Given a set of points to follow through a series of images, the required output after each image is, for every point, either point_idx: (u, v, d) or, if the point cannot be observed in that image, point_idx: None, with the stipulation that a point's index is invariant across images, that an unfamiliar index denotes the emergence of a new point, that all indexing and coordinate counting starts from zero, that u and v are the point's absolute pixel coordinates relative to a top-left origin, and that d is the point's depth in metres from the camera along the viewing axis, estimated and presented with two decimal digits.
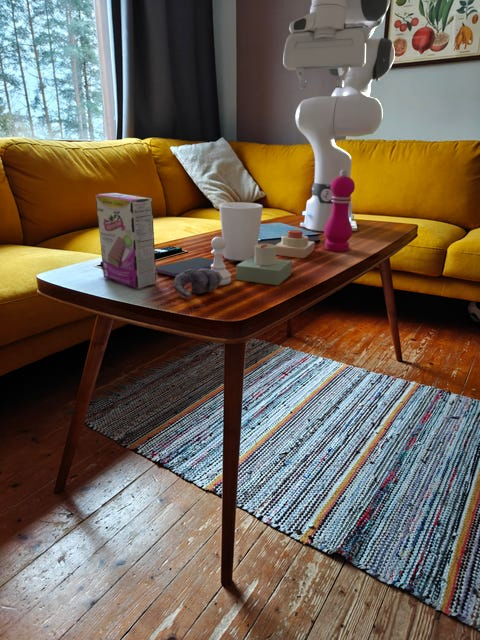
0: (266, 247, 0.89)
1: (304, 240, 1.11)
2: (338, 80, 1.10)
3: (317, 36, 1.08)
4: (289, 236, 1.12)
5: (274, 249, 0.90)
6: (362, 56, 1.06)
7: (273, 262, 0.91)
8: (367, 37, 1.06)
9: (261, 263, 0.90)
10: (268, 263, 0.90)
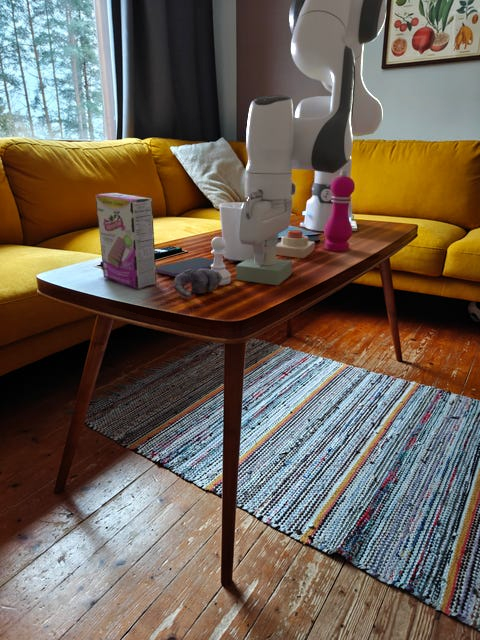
0: (266, 247, 0.89)
1: (304, 240, 1.11)
2: None
3: None
4: (289, 236, 1.12)
5: (274, 249, 0.90)
6: (239, 235, 0.82)
7: (273, 262, 0.91)
8: (246, 212, 0.79)
9: (261, 263, 0.90)
10: (268, 263, 0.90)
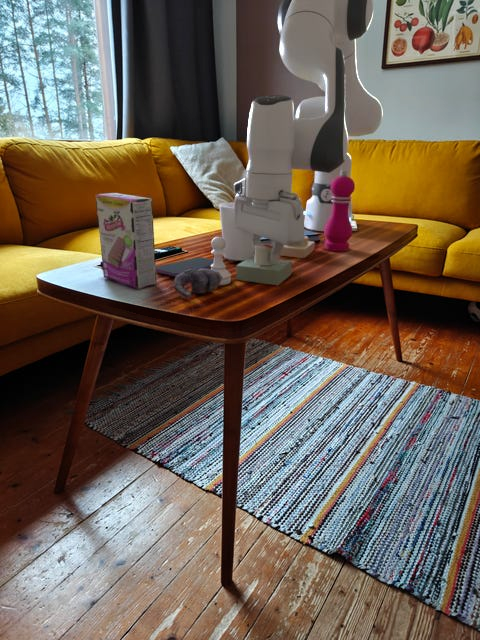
0: None
1: (304, 240, 1.11)
2: (269, 254, 0.89)
3: (251, 204, 0.88)
4: None
5: None
6: (288, 237, 0.81)
7: None
8: (297, 213, 0.80)
9: (271, 263, 0.90)
10: None
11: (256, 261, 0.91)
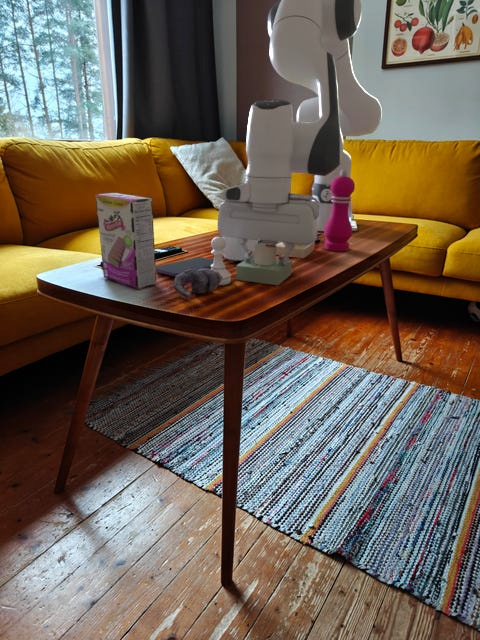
0: None
1: None
2: (281, 258, 0.89)
3: (255, 209, 0.86)
4: None
5: None
6: (311, 237, 0.85)
7: None
8: (317, 213, 0.84)
9: (275, 262, 0.91)
10: None
11: (262, 262, 0.90)
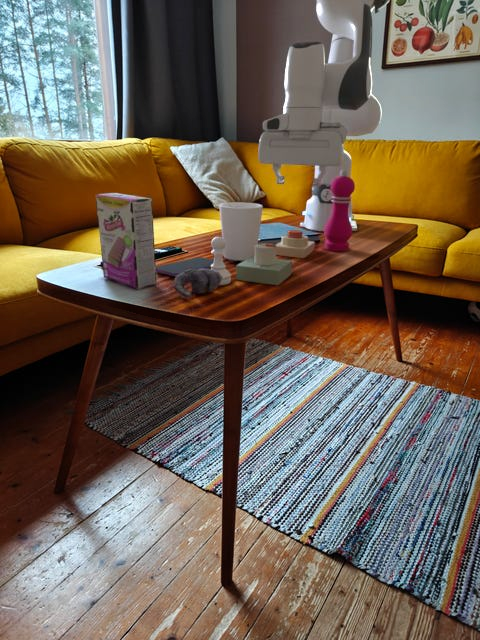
0: None
1: (304, 240, 1.11)
2: (315, 179, 1.06)
3: (292, 137, 1.03)
4: (289, 236, 1.12)
5: None
6: (339, 159, 1.01)
7: None
8: (344, 138, 1.01)
9: (275, 262, 0.91)
10: None
11: (262, 262, 0.90)
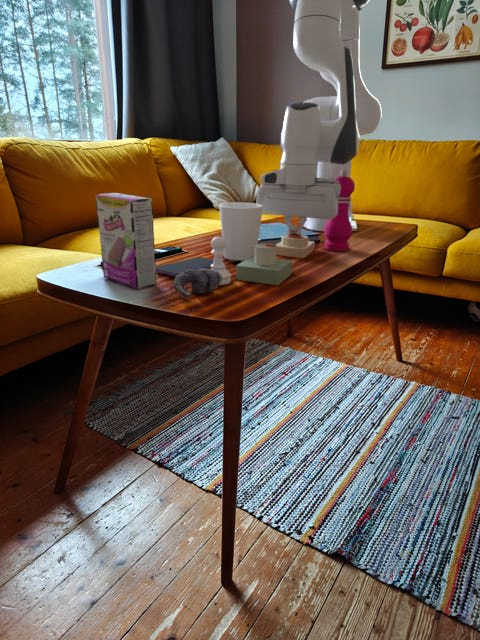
0: None
1: (304, 240, 1.11)
2: (295, 229, 1.11)
3: (288, 190, 1.07)
4: None
5: None
6: (333, 213, 1.06)
7: None
8: (338, 193, 1.05)
9: (275, 262, 0.91)
10: None
11: (262, 262, 0.90)
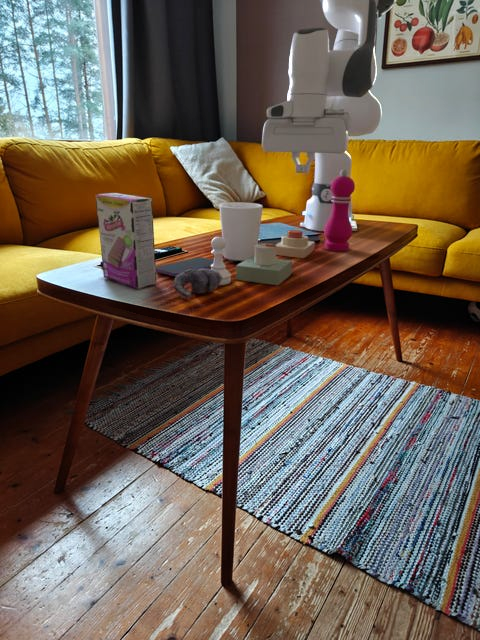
0: None
1: (304, 240, 1.11)
2: (303, 166, 1.07)
3: (296, 124, 1.02)
4: (289, 236, 1.12)
5: None
6: (343, 146, 1.01)
7: None
8: (348, 125, 1.00)
9: (275, 262, 0.91)
10: None
11: (262, 262, 0.90)
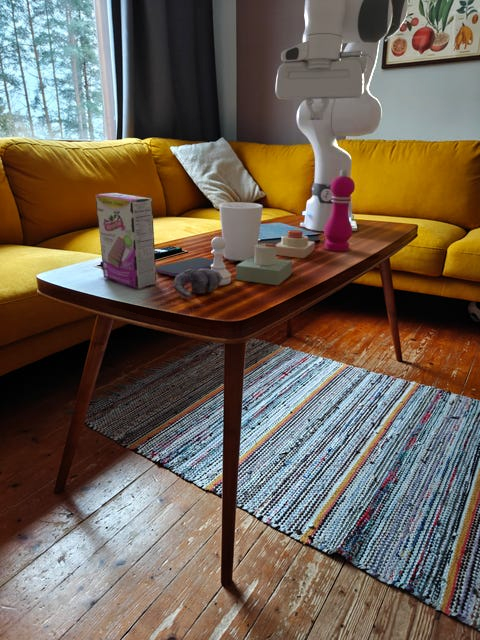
0: None
1: (304, 240, 1.11)
2: (317, 113, 1.05)
3: (311, 67, 1.01)
4: (289, 236, 1.12)
5: None
6: (359, 89, 0.99)
7: None
8: (365, 67, 0.99)
9: (275, 262, 0.91)
10: None
11: (262, 262, 0.90)
